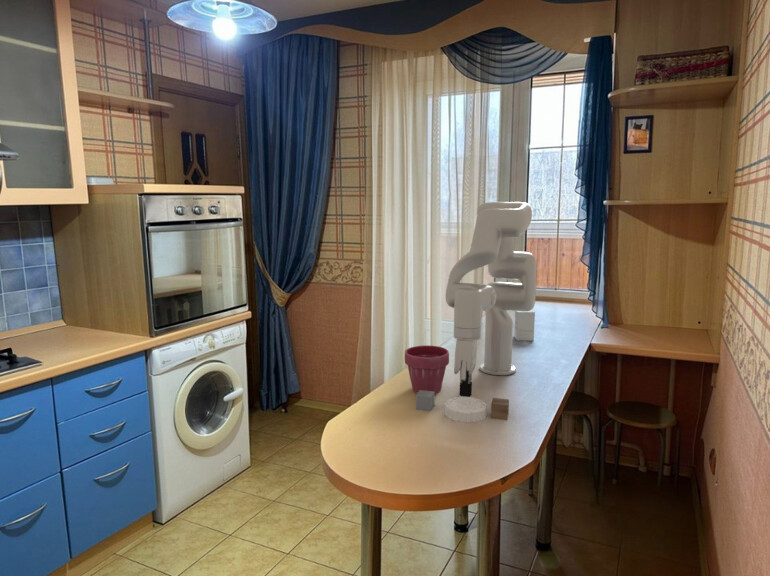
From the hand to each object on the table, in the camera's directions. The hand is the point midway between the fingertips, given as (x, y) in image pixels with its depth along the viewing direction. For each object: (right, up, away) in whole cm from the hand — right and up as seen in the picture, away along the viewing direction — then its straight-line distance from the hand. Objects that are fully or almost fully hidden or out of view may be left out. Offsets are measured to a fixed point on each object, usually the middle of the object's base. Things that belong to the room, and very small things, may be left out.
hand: (465, 395), depth 154 cm
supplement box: (+37, +8, +81) cm, 90 cm away
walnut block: (+10, -6, 0) cm, 11 cm away
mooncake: (0, -6, +1) cm, 6 cm away
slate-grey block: (-11, -5, +6) cm, 13 cm away
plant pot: (-9, -2, +21) cm, 23 cm away
